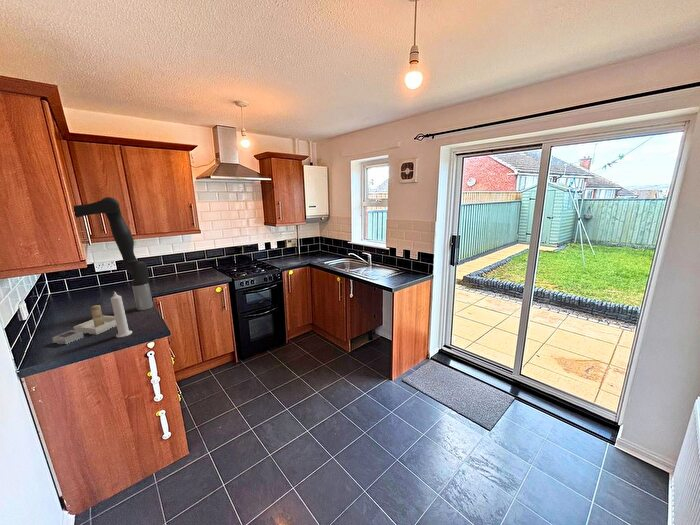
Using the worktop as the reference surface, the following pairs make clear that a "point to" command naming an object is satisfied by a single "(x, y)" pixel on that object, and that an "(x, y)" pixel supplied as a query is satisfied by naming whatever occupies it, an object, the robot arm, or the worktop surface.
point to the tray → (91, 329)
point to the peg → (97, 315)
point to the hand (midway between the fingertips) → (68, 273)
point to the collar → (68, 337)
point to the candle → (120, 316)
